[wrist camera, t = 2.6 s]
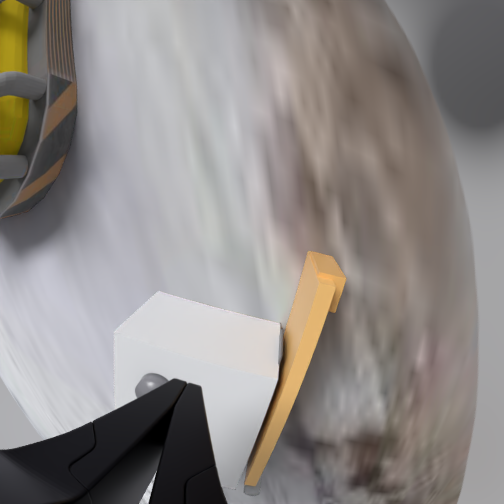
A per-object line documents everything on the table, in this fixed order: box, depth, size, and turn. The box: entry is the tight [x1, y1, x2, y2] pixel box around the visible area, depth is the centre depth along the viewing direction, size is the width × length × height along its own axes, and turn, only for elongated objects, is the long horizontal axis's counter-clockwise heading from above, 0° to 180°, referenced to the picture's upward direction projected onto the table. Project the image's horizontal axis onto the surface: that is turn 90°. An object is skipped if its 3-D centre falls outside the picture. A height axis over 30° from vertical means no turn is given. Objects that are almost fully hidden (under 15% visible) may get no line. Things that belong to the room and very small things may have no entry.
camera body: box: [114, 291, 283, 490], centre depth 17 cm, size 12×8×7 cm, turn 167°
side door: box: [244, 251, 346, 496], centre depth 16 cm, size 15×1×6 cm, turn 167°
